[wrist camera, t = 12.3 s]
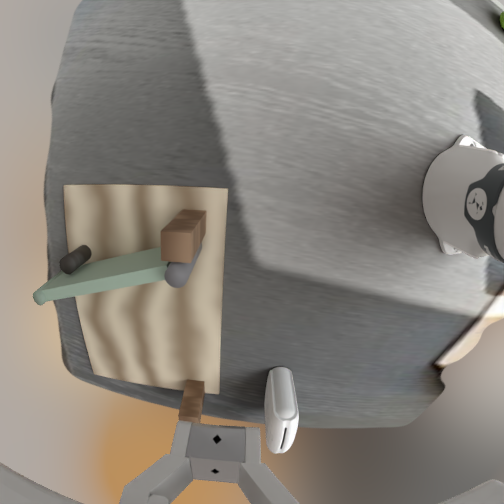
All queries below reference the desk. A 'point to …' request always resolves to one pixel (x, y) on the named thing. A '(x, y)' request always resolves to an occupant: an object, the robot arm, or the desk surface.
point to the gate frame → (152, 284)
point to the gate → (116, 275)
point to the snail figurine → (502, 19)
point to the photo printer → (280, 410)
